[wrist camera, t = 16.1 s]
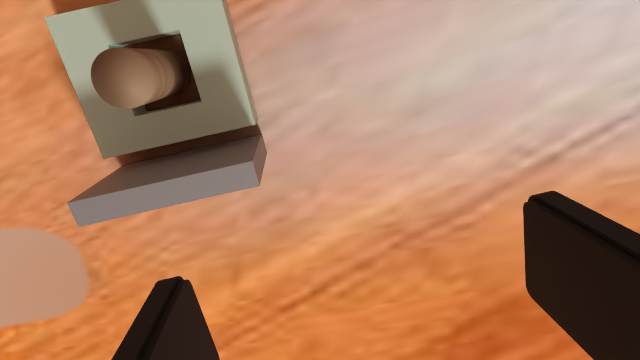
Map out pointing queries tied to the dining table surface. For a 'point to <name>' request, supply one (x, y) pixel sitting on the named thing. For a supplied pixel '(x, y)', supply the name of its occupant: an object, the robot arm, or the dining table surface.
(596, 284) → the robot arm
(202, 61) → the socket block
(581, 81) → the dining table surface
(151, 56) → the walnut peg
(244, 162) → the low wall
